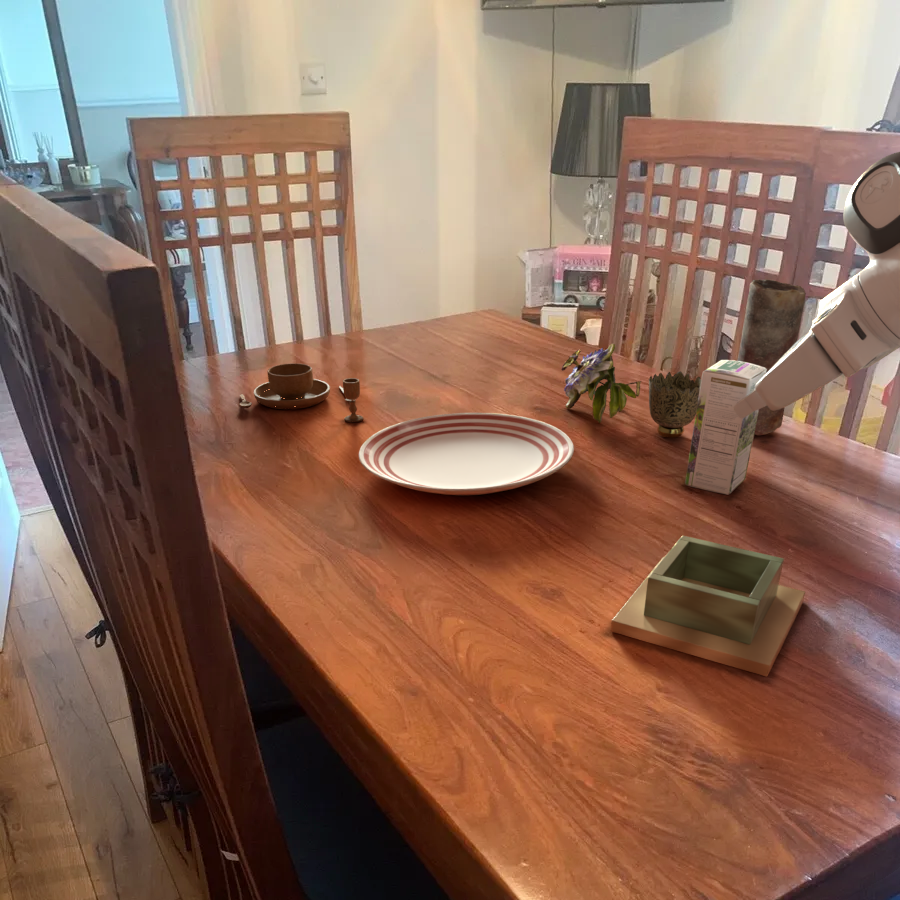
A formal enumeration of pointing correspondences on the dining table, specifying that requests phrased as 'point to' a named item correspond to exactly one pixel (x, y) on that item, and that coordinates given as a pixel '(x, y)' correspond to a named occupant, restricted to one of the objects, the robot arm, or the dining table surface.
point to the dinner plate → (466, 453)
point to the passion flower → (591, 375)
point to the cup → (673, 402)
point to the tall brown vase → (770, 334)
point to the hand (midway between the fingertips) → (749, 399)
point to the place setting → (300, 390)
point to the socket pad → (714, 605)
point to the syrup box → (722, 427)
